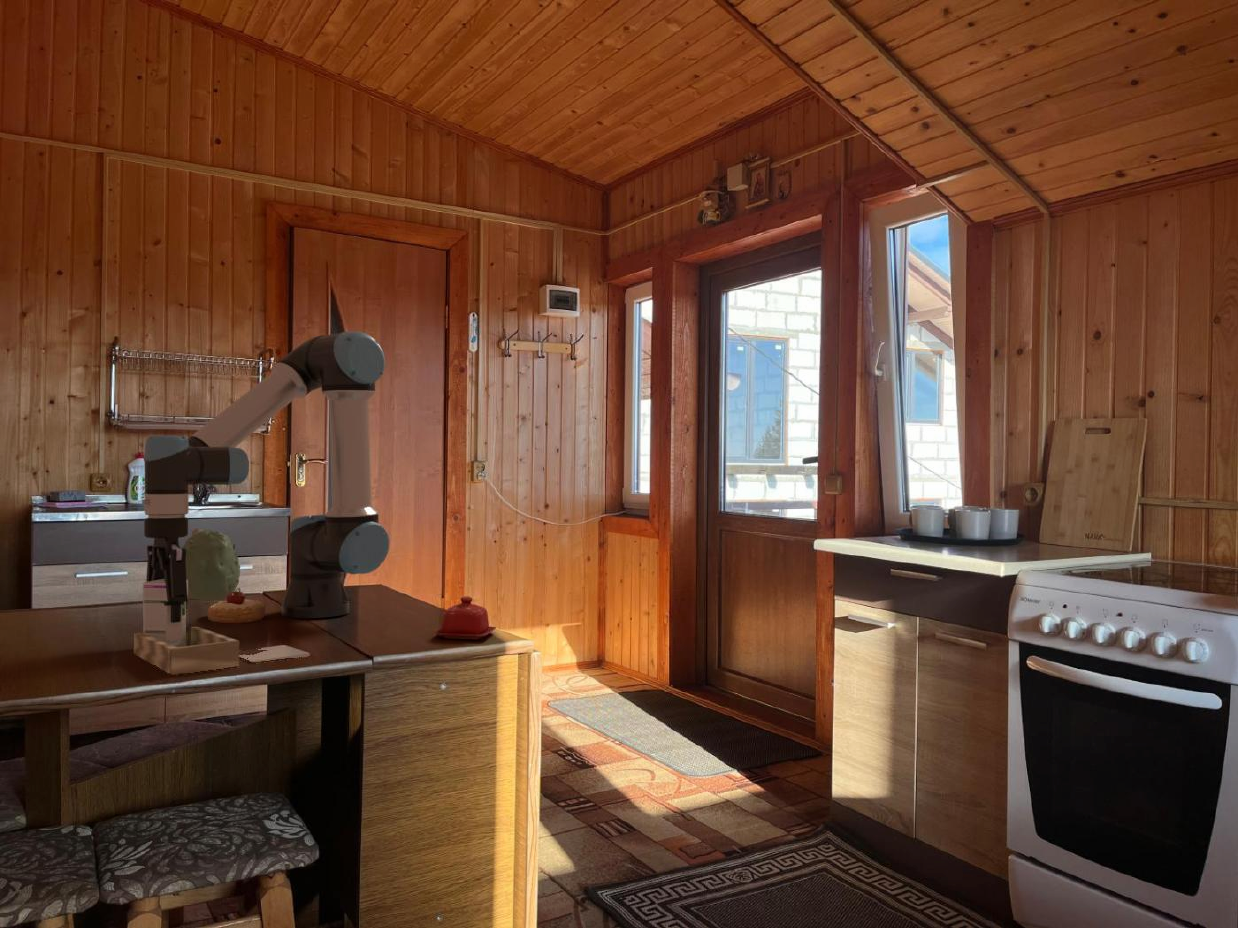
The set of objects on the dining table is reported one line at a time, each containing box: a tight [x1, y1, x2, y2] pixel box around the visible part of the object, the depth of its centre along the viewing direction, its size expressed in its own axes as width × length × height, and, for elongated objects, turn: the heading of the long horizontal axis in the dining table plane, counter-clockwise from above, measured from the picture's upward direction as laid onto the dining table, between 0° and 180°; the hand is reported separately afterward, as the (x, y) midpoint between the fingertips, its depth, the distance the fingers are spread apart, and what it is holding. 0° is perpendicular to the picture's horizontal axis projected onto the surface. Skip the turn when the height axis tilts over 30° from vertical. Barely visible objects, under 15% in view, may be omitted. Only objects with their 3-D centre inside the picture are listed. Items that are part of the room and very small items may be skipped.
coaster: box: [239, 644, 311, 662], centre depth 179 cm, size 11×11×1 cm
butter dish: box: [434, 595, 497, 640], centre depth 203 cm, size 12×12×8 cm
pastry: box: [207, 587, 266, 624], centre depth 212 cm, size 12×12×9 cm
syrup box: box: [142, 579, 190, 647], centre depth 179 cm, size 6×6×14 cm
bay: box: [133, 626, 240, 675], centre depth 171 cm, size 20×11×5 cm, turn 44°
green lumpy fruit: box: [180, 528, 241, 601], centre depth 239 cm, size 16×19×20 cm
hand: (165, 636), depth 179 cm, fingers closed on syrup box, 7 cm apart
